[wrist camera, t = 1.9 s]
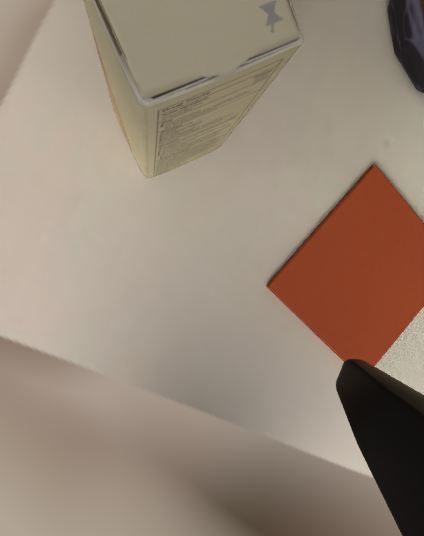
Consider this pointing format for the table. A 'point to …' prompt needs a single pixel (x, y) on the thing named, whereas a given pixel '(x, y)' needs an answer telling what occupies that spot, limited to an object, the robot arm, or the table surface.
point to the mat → (359, 272)
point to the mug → (409, 37)
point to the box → (188, 69)
